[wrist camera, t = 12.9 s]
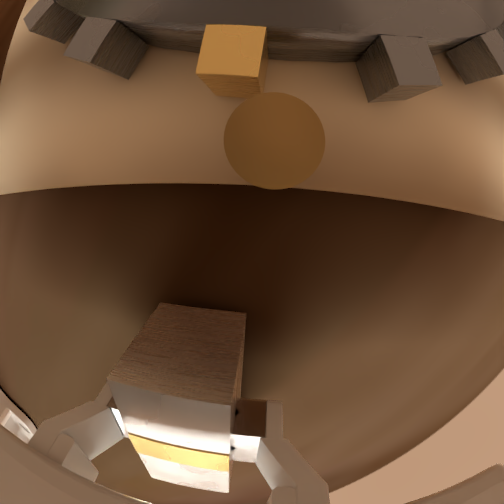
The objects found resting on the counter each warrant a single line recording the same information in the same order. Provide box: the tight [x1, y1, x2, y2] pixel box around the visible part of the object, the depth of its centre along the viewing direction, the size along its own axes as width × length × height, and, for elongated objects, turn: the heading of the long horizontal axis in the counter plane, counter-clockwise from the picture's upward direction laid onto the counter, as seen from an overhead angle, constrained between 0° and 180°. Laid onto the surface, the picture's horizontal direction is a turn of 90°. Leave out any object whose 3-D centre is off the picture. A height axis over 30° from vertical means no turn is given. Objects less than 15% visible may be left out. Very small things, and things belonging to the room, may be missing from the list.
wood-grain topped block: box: [106, 303, 246, 493], centre depth 8 cm, size 6×3×4 cm, turn 176°
